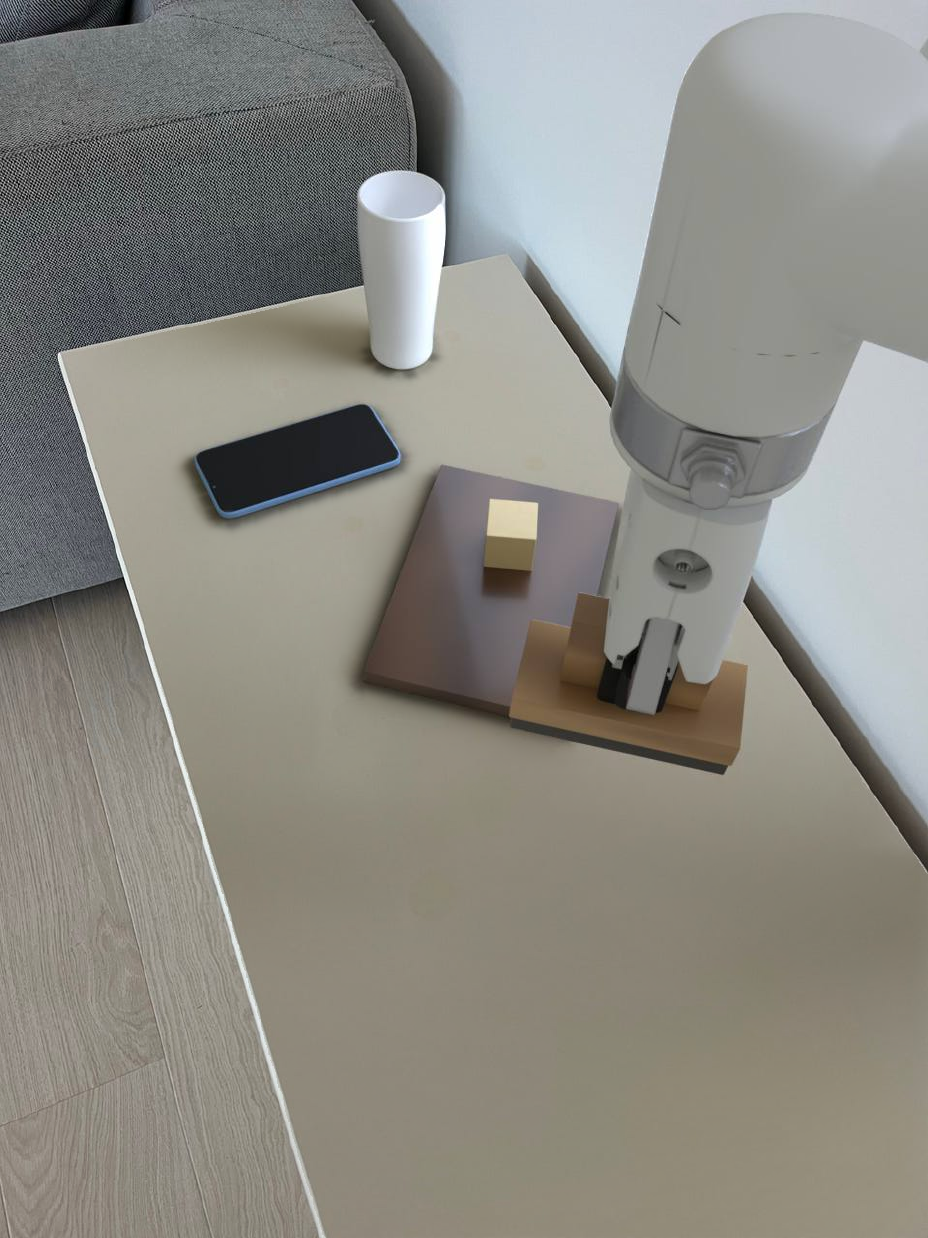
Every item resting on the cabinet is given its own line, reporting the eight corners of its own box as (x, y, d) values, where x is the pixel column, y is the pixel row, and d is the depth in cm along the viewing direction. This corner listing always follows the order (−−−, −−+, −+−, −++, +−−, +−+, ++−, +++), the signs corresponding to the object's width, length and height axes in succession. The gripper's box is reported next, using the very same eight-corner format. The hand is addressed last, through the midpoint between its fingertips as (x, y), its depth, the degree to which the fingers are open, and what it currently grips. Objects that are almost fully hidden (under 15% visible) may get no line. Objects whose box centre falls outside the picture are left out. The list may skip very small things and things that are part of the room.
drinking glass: (425, 319, 95) (428, 162, 83) (452, 368, 92) (459, 211, 80) (352, 335, 94) (344, 176, 82) (376, 385, 90) (372, 227, 78)
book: (616, 513, 83) (619, 502, 82) (566, 730, 71) (568, 721, 70) (440, 474, 84) (441, 464, 83) (363, 681, 73) (363, 671, 72)
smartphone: (405, 457, 84) (221, 517, 80) (405, 465, 85) (222, 524, 80) (367, 397, 88) (189, 450, 83) (367, 405, 89) (191, 458, 84)
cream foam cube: (533, 534, 80) (538, 502, 77) (531, 571, 78) (536, 539, 75) (486, 530, 80) (489, 498, 77) (483, 567, 78) (486, 535, 75)
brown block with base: (525, 651, 58) (540, 556, 51) (733, 696, 57) (775, 605, 50) (507, 729, 55) (520, 639, 49) (725, 778, 54) (769, 693, 47)
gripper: (816, 593, 34) (691, 841, 49) (831, 288, 43) (721, 575, 58) (580, 545, 34) (527, 804, 49) (644, 255, 44) (583, 547, 58)
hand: (633, 679), depth 53 cm, fingers closed on brown block with base
